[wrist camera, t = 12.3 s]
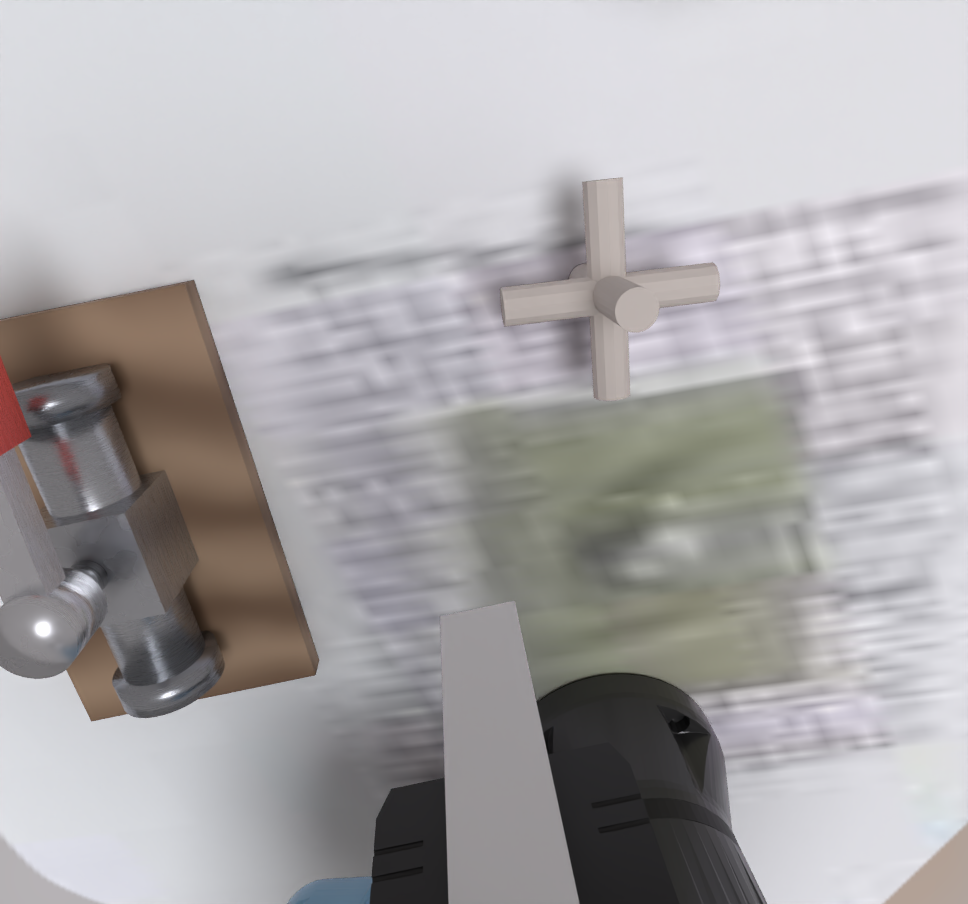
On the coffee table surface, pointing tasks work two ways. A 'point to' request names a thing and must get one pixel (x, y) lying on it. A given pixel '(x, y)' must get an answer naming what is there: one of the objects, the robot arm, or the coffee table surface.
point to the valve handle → (36, 570)
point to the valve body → (119, 538)
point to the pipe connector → (609, 291)
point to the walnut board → (179, 476)
